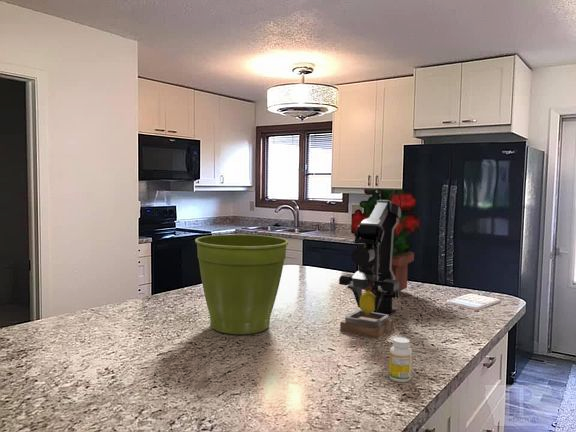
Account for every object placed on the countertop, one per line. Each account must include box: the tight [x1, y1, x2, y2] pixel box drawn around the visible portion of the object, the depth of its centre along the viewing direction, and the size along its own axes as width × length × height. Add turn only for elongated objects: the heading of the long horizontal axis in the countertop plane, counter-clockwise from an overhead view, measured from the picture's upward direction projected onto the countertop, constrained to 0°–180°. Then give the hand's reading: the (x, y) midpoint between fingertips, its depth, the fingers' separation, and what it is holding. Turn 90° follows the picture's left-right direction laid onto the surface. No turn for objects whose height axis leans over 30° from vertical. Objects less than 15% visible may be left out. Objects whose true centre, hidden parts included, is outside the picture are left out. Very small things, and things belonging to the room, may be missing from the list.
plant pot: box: [194, 234, 289, 335], centre depth 156 cm, size 30×30×29 cm
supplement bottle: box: [388, 337, 413, 383], centre depth 118 cm, size 5×5×10 cm
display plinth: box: [339, 309, 394, 340], centre depth 157 cm, size 13×13×4 cm
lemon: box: [359, 291, 376, 315], centre depth 156 cm, size 6×6×8 cm
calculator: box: [446, 293, 500, 311], centre depth 196 cm, size 13×20×2 cm, turn 132°
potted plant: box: [350, 188, 420, 294], centre depth 208 cm, size 22×22×45 cm
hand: (367, 308), depth 157 cm, fingers closed on lemon, 5 cm apart
